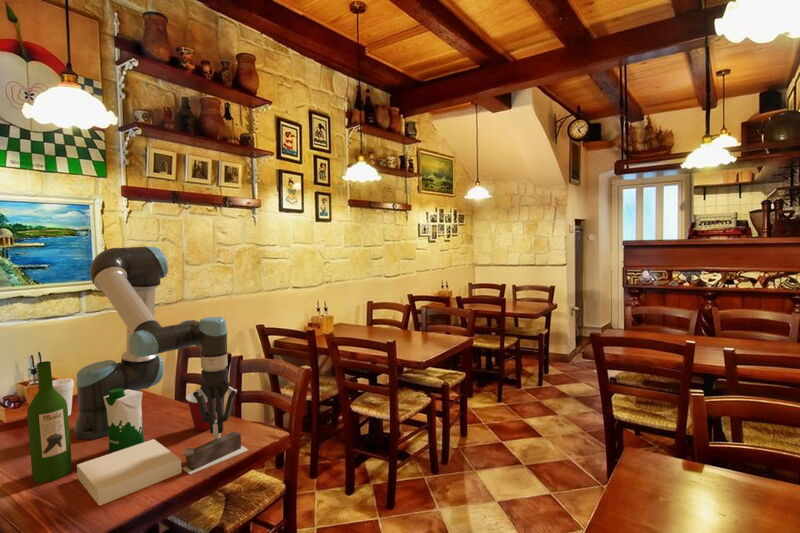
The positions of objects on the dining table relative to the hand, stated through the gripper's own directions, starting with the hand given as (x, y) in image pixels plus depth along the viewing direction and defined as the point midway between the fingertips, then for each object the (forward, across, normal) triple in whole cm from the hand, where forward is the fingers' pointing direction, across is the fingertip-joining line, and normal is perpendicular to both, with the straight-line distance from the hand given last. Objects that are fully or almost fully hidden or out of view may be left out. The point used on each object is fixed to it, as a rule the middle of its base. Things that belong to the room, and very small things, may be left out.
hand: (217, 442), depth 137 cm
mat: (+3, +1, -5) cm, 6 cm away
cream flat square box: (+3, -20, -12) cm, 23 cm away
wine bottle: (+4, -43, -8) cm, 44 cm away
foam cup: (+4, -72, +37) cm, 81 cm away
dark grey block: (+2, 0, -5) cm, 5 cm away
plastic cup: (+3, -11, +19) cm, 22 cm away
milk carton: (+4, -30, +5) cm, 30 cm away
